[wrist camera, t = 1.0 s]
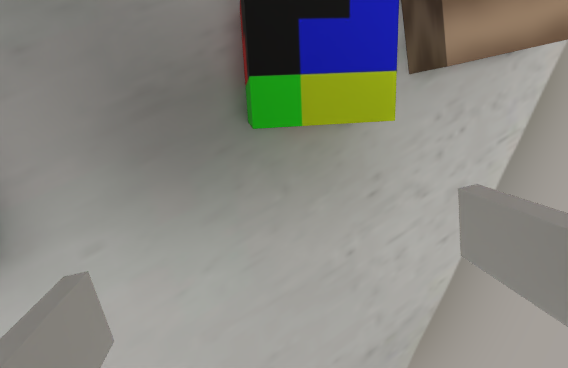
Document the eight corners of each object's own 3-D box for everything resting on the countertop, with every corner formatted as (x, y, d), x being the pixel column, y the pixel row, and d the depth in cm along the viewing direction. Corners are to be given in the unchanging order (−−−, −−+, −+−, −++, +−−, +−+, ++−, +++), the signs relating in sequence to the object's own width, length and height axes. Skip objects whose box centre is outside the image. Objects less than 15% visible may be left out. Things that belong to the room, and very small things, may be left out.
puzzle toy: (347, 7, 30) (400, -41, 20) (347, 116, 32) (394, 120, 23) (239, 8, 29) (240, -42, 19) (248, 122, 31) (253, 128, 21)
